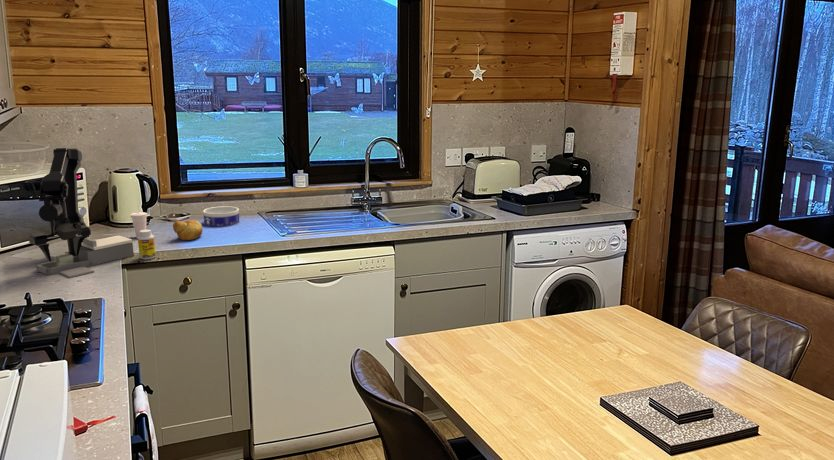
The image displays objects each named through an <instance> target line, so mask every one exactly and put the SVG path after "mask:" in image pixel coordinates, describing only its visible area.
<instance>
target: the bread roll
mask: <svg viewBox="0 0 834 460" xmlns="http://www.w3.org/2000/svg"><path fill="white" fill-rule="evenodd" d="M172 230H173V231H174V233H175V234H176V235H177V238H178V239H180V240H182V241H190V240H191V241H192V240H194V239H197V238H199V237H201V236H202V234H203V225H202V223H200V222H199V221H198V220H195V219H189V220H185V221H181V220H176V221H174V222H173V224H172Z"/></svg>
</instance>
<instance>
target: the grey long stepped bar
mask: <svg viewBox="0 0 834 460" xmlns="http://www.w3.org/2000/svg"><path fill="white" fill-rule="evenodd" d="M134 252H135V251H134V244H133V241H132V242H131V243H127V244H122V245H117V246H112V247H108V248H103V249H98V250H92V249H90V248H87V247H84V246H83V247H80V251H79V255H78V256H73V262H74V263H71V264H66V265H62V266H57V267H55V262H54V260H51V262H49V261H47V262H46V261H45V262H42V263H38V264H35V268H36V271H37V272H40V273H41V274H44V275H46V276H51V275H54V274H60V271H65V270H69V269H74V268H78V267H83V266H84V267H86V268H87V267H90V266H94V265H99V264H103V263H107V262H113V261H118V260H121V259H126V258H129V257H134V254H135V253H134Z"/></svg>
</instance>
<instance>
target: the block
mask: <svg viewBox="0 0 834 460" xmlns="http://www.w3.org/2000/svg"><path fill="white" fill-rule="evenodd" d="M73 257H74V256H73V255H70V254H68V253H65V252H64V253H63V254H57V255H53V261H54V262H55V267H57V266H62V265H66V264H71V263H74V262H73Z"/></svg>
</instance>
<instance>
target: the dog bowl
mask: <svg viewBox="0 0 834 460" xmlns="http://www.w3.org/2000/svg"><path fill="white" fill-rule="evenodd" d="M202 213H203V223H204V225H205V226H208V227H229V226H233V225H237V224H238V223H240V209H239V207H236V206H229V205H228V206H223V205H221V206H214V207H207V208H205V209H203V212H202Z"/></svg>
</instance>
